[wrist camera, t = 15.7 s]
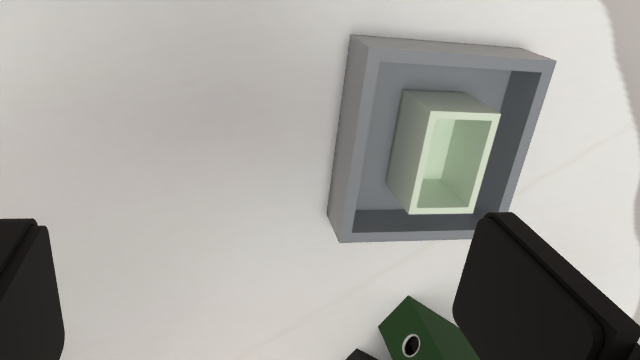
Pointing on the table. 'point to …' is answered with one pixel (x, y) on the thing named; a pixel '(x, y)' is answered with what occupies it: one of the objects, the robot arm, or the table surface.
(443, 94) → the small crate
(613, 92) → the table surface
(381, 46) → the big crate
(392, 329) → the binder
